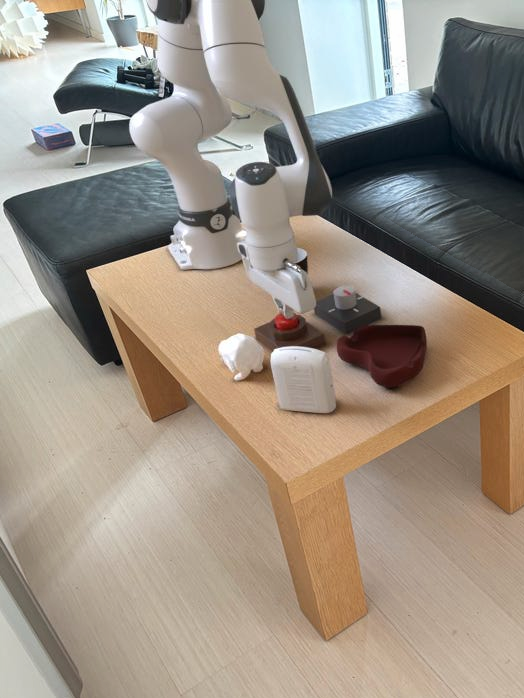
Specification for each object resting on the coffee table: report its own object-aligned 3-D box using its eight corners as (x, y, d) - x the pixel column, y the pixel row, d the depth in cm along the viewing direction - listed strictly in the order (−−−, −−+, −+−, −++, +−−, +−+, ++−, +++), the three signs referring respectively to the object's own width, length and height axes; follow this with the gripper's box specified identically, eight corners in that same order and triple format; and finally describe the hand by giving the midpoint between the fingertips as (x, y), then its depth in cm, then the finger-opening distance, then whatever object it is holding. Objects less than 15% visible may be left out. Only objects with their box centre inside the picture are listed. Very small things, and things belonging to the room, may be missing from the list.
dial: (331, 304, 155) (329, 289, 153) (348, 297, 158) (346, 282, 156) (343, 311, 152) (341, 297, 150) (360, 304, 155) (358, 289, 153)
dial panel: (314, 314, 158) (312, 301, 156) (349, 299, 163) (347, 287, 161) (346, 335, 150) (344, 322, 149) (381, 319, 155) (380, 306, 154)
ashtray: (455, 364, 141) (454, 342, 138) (387, 401, 132) (384, 378, 129) (398, 330, 152) (395, 309, 149) (331, 362, 142) (328, 340, 140)
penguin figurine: (230, 347, 132) (201, 329, 139) (242, 387, 136) (213, 367, 144) (261, 334, 135) (231, 316, 143) (272, 373, 139) (242, 354, 147)
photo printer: (340, 401, 132) (330, 343, 125) (332, 415, 129) (321, 357, 122) (286, 397, 134) (273, 339, 127) (277, 411, 130) (263, 353, 123)
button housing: (256, 339, 150) (251, 321, 148) (294, 323, 155) (290, 304, 153) (287, 363, 143) (282, 343, 140) (326, 344, 148) (322, 325, 145)
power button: (271, 325, 147) (270, 317, 146) (291, 316, 149) (289, 309, 148) (283, 333, 144) (281, 325, 143) (302, 324, 146) (301, 317, 145)
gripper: (317, 263, 133) (329, 328, 141) (261, 231, 146) (274, 292, 153) (287, 275, 129) (301, 341, 137) (232, 241, 142) (247, 303, 150)
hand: (286, 315), depth 145 cm, fingers closed
